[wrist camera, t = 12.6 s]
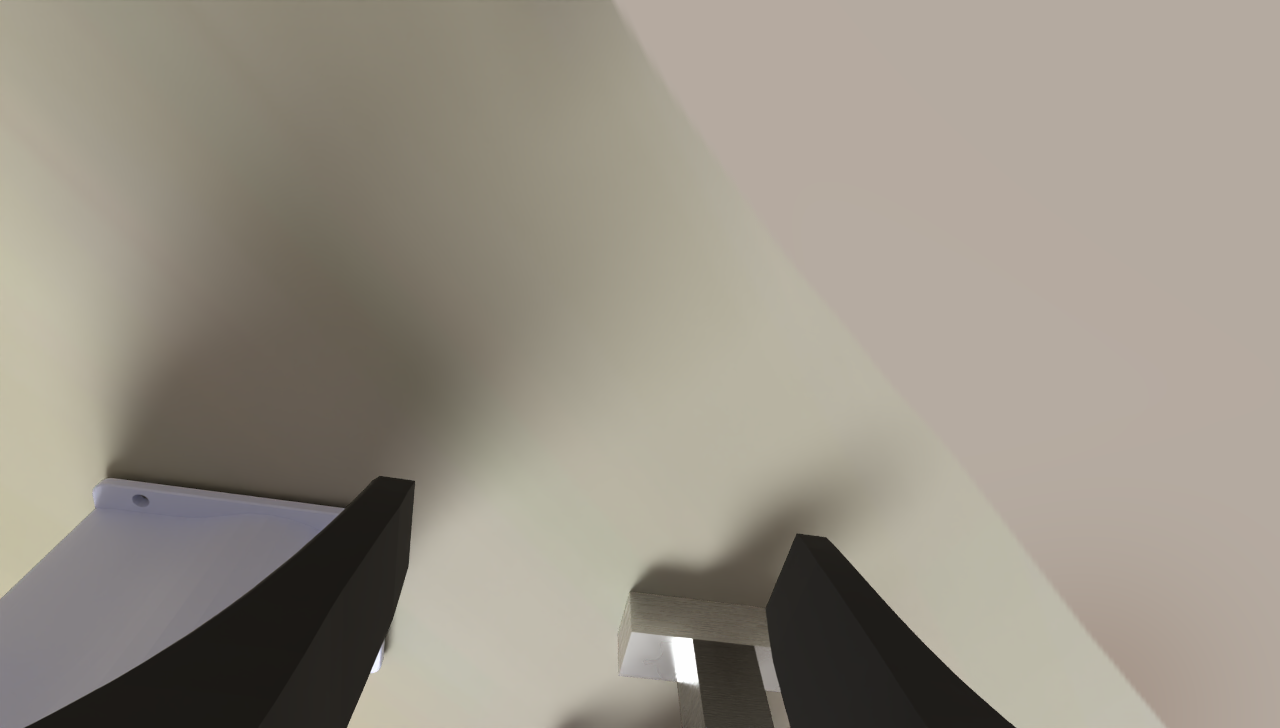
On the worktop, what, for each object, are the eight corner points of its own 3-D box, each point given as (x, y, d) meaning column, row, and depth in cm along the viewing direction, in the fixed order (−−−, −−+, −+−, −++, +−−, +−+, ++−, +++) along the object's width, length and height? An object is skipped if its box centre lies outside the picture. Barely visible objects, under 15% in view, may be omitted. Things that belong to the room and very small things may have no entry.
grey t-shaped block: (617, 632, 27) (622, 815, 21) (629, 590, 26) (637, 769, 20) (779, 650, 28) (830, 830, 22) (798, 610, 27) (856, 787, 21)
